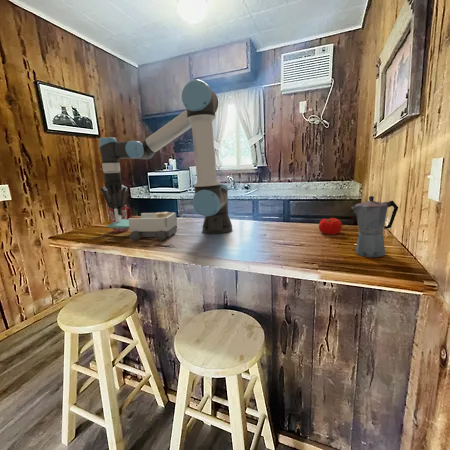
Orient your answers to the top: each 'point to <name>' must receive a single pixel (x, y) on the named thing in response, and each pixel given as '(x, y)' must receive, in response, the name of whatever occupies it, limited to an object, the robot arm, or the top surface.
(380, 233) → the moka pot
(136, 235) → the trailer
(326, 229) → the tomato
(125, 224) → the tailgate
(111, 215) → the mug
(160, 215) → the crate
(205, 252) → the top surface
